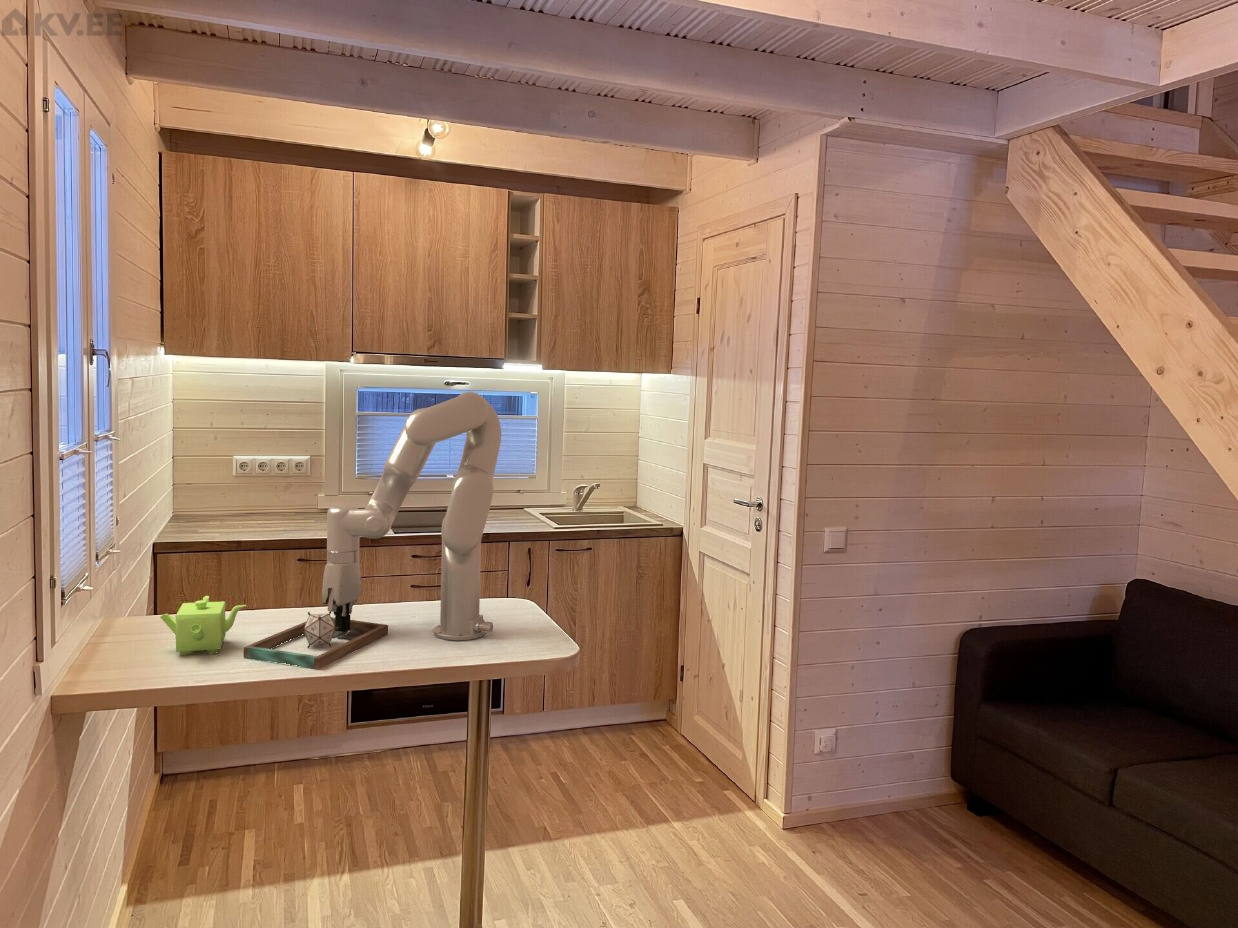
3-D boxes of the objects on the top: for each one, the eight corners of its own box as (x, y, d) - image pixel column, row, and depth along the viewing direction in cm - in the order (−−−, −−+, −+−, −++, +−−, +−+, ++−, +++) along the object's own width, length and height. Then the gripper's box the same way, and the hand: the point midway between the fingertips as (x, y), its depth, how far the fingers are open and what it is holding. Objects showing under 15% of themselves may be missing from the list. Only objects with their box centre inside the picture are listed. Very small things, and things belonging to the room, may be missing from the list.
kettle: (207, 635, 217) (206, 589, 216) (250, 645, 211) (250, 598, 210) (151, 652, 204) (150, 603, 202) (195, 663, 198) (195, 613, 196)
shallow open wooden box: (388, 634, 223) (388, 624, 223) (318, 669, 197) (318, 658, 196) (320, 625, 229) (320, 615, 229) (243, 657, 202) (243, 646, 202)
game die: (323, 663, 212) (323, 637, 205) (292, 647, 213) (291, 621, 206) (346, 636, 218) (347, 611, 212) (315, 621, 219) (315, 595, 213)
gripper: (347, 549, 228) (347, 621, 230) (310, 560, 213) (310, 637, 215) (374, 552, 225) (373, 624, 227) (338, 564, 211) (337, 641, 213)
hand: (342, 630), depth 221 cm, fingers closed
